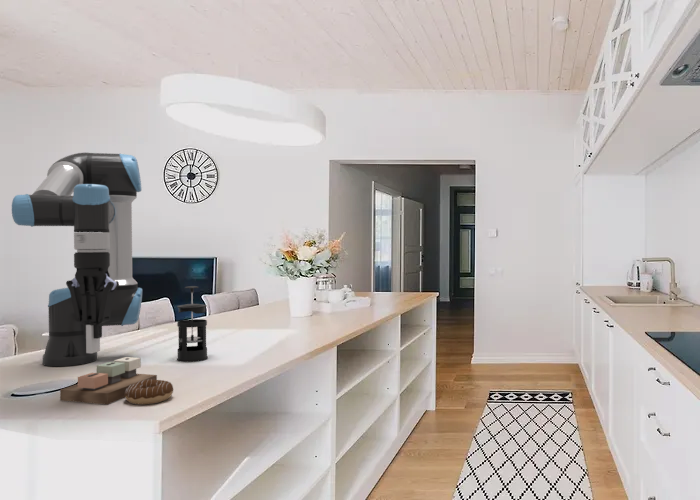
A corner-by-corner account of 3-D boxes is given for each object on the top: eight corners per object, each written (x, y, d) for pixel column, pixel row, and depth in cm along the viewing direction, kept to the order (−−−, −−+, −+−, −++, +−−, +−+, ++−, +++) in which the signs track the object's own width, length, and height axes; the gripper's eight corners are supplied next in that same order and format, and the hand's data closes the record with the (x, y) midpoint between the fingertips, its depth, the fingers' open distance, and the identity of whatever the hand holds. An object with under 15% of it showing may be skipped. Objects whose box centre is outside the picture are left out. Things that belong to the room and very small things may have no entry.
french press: (196, 363, 163) (195, 287, 163) (169, 361, 166) (168, 287, 166) (216, 355, 174) (215, 285, 174) (190, 354, 177) (190, 284, 177)
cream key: (113, 370, 135) (113, 359, 135) (125, 366, 140) (125, 356, 140) (129, 371, 134) (128, 360, 134) (140, 367, 138) (140, 357, 138)
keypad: (60, 400, 124) (60, 381, 124) (113, 381, 141) (113, 365, 141) (107, 404, 121) (107, 385, 121) (156, 384, 138) (156, 367, 138)
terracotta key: (77, 387, 124) (77, 376, 124) (92, 382, 128) (91, 371, 128) (94, 388, 122) (94, 377, 122) (108, 383, 127) (107, 372, 127)
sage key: (96, 375, 129) (96, 364, 129) (109, 371, 134) (109, 361, 134) (112, 376, 128) (112, 365, 128) (124, 372, 133) (124, 362, 133)
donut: (183, 396, 127) (183, 379, 127) (150, 409, 118) (150, 390, 118) (148, 392, 132) (148, 375, 132) (114, 403, 122) (114, 386, 122)
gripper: (56, 251, 123) (57, 353, 124) (104, 251, 120) (105, 357, 120) (80, 250, 130) (81, 347, 131) (126, 250, 127) (127, 350, 128)
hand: (93, 351), depth 126 cm, fingers closed
